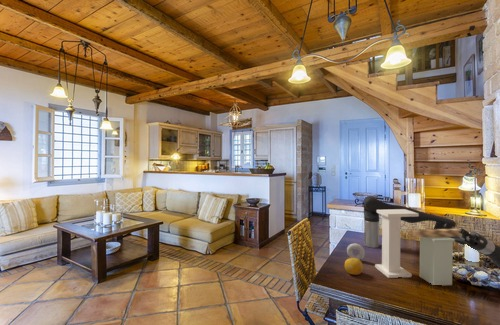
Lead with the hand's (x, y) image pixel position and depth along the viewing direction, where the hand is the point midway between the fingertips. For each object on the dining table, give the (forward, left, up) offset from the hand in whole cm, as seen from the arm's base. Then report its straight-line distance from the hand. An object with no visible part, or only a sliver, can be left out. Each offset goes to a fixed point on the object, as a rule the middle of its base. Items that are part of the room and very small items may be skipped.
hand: (452, 227), depth 119 cm
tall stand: (-24, -2, -26) cm, 35 cm away
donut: (-44, +4, -26) cm, 51 cm away
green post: (-7, -4, -26) cm, 27 cm away
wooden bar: (-7, -4, -4) cm, 9 cm away
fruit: (-44, -14, -26) cm, 53 cm away
